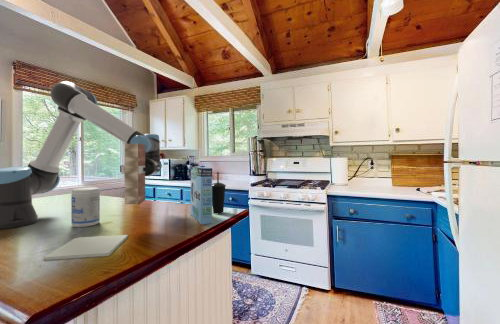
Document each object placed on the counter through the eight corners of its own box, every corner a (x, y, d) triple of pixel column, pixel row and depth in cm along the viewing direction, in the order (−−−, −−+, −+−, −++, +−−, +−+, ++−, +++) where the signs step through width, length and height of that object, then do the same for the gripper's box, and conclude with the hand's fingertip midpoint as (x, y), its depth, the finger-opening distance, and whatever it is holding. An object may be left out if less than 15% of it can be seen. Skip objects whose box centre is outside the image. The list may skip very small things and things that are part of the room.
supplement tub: (65, 227, 94) (64, 190, 94) (83, 221, 104) (82, 187, 103) (89, 227, 94) (89, 190, 94) (105, 221, 103) (104, 187, 103)
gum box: (190, 214, 114) (190, 166, 114) (201, 213, 117) (200, 166, 116) (200, 225, 97) (200, 168, 96) (213, 223, 99) (212, 167, 99)
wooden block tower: (124, 204, 87) (124, 143, 87) (131, 200, 95) (131, 144, 95) (139, 204, 88) (139, 143, 88) (145, 200, 96) (145, 144, 95)
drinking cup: (207, 214, 116) (206, 172, 115) (215, 210, 123) (215, 171, 122) (221, 215, 113) (221, 172, 112) (228, 211, 120) (228, 171, 120)
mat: (43, 260, 64) (43, 257, 64) (76, 239, 80) (76, 237, 80) (108, 255, 67) (108, 252, 67) (127, 236, 83) (127, 234, 83)
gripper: (168, 175, 111) (157, 180, 88) (125, 175, 108) (103, 180, 85) (168, 159, 110) (157, 159, 88) (125, 158, 107) (103, 159, 84)
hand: (131, 169), depth 86 cm, fingers closed on wooden block tower, 5 cm apart
